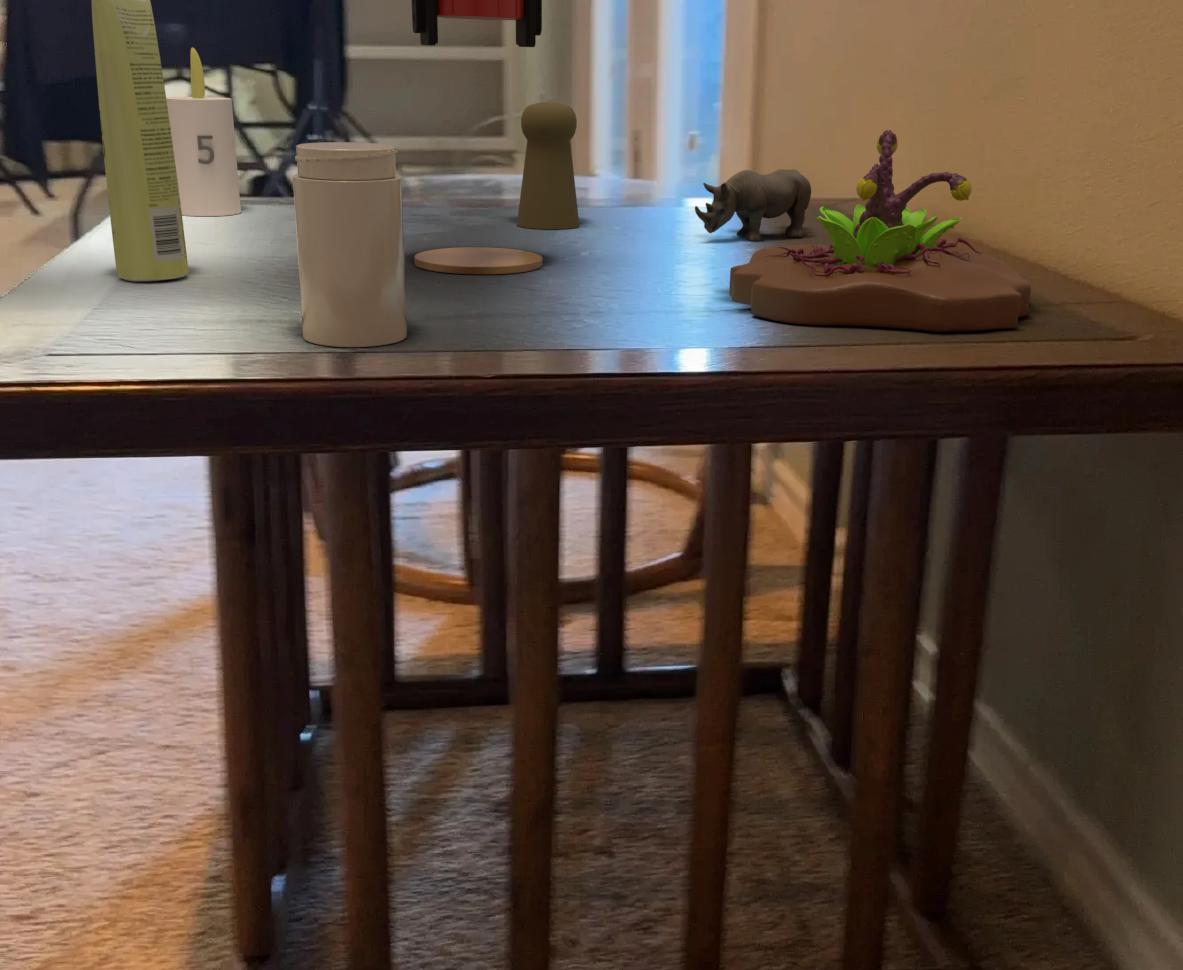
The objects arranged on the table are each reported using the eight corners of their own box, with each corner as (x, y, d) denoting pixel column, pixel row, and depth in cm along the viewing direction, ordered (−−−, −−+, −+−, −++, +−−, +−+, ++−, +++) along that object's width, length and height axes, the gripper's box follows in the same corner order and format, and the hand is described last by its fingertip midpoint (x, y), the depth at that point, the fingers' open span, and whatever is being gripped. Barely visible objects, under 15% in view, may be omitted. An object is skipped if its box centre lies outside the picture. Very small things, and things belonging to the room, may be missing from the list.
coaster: (421, 275, 96) (421, 267, 95) (408, 255, 105) (408, 247, 104) (553, 273, 98) (553, 265, 98) (530, 253, 107) (530, 246, 106)
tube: (106, 273, 93) (68, -25, 86) (176, 268, 96) (145, -22, 88) (127, 285, 89) (90, -28, 81) (200, 280, 92) (170, -24, 84)
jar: (304, 348, 72) (291, 149, 68) (302, 327, 78) (289, 141, 73) (411, 345, 74) (405, 150, 69) (402, 325, 79) (395, 142, 75)
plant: (1011, 287, 96) (1034, 128, 92) (1039, 340, 79) (1070, 146, 74) (744, 272, 100) (754, 119, 96) (714, 320, 82) (725, 134, 78)
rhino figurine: (677, 239, 116) (680, 170, 114) (790, 231, 124) (795, 165, 121) (705, 245, 113) (709, 174, 111) (820, 236, 121) (826, 169, 118)
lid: (510, 20, 98) (510, -6, 97) (533, 18, 92) (533, -10, 92) (423, 16, 96) (423, -11, 95) (441, 14, 90) (441, -15, 90)
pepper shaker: (559, 230, 120) (560, 104, 116) (504, 225, 123) (504, 102, 118) (590, 224, 125) (593, 103, 121) (537, 219, 128) (538, 100, 123)
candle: (177, 217, 123) (160, 46, 117) (172, 209, 129) (155, 46, 123) (245, 215, 125) (231, 48, 119) (237, 207, 131) (223, 47, 125)
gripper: (578, -220, 94) (575, 47, 101) (337, -239, 89) (352, 43, 96) (610, -239, 87) (605, 48, 94) (353, -261, 82) (367, 44, 89)
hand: (477, 43), depth 95 cm, fingers closed on lid, 6 cm apart
